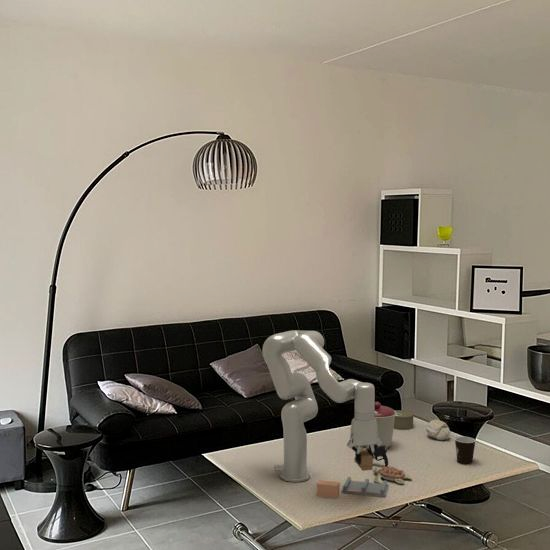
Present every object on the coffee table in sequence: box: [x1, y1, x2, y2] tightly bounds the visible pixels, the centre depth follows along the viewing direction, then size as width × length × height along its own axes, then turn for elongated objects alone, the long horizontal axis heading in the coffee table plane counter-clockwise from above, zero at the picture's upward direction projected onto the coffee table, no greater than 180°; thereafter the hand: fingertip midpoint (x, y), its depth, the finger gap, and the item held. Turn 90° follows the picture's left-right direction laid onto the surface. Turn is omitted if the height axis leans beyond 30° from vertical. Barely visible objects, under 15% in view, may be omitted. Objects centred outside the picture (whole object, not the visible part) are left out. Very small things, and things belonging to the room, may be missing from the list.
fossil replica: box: [425, 419, 451, 441], centre depth 343 cm, size 12×8×10 cm
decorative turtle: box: [372, 465, 413, 485], centre depth 292 cm, size 18×17×5 cm
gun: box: [353, 445, 389, 467], centre depth 308 cm, size 3×16×10 cm, turn 59°
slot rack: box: [340, 476, 390, 498], centre depth 280 cm, size 17×11×3 cm, turn 74°
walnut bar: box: [354, 447, 374, 472], centre depth 274 cm, size 8×4×5 cm, turn 15°
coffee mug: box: [454, 436, 476, 466], centre depth 311 cm, size 12×9×10 cm
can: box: [393, 409, 415, 431], centre depth 362 cm, size 12×12×7 cm
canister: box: [364, 401, 397, 449], centre depth 331 cm, size 18×18×21 cm
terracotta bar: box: [316, 479, 341, 499], centre depth 275 cm, size 8×4×5 cm, turn 74°
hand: (364, 461), depth 273 cm, fingers closed on walnut bar, 4 cm apart
